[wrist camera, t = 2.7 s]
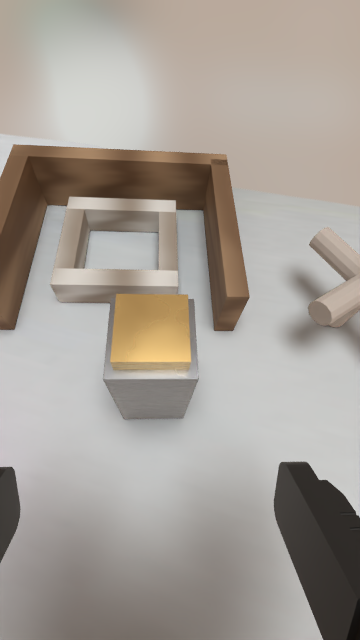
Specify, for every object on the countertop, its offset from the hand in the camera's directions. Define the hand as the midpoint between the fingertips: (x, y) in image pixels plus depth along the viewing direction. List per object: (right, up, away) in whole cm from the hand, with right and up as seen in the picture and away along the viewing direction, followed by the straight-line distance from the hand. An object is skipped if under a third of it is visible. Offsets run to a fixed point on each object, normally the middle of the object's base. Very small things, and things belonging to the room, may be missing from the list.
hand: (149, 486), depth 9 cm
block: (-1, 0, +12) cm, 12 cm away
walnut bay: (-4, +11, +18) cm, 21 cm away
